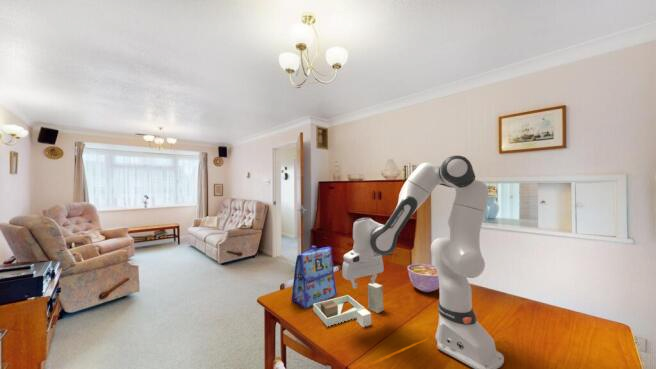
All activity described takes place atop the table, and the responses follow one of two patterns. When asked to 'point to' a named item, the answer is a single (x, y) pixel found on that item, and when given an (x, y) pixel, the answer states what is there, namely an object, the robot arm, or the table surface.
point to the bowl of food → (424, 277)
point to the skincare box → (375, 297)
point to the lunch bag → (314, 277)
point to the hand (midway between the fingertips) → (363, 285)
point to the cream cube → (364, 317)
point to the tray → (340, 317)
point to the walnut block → (329, 308)
